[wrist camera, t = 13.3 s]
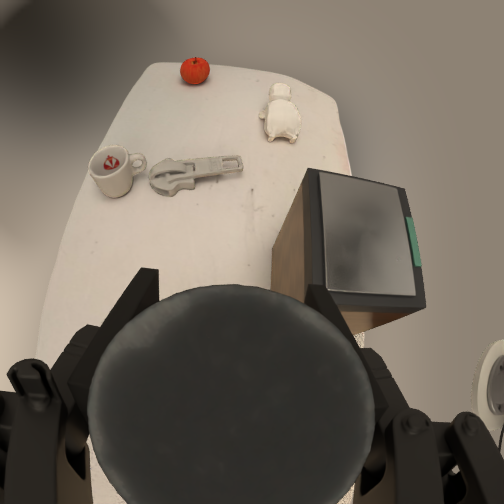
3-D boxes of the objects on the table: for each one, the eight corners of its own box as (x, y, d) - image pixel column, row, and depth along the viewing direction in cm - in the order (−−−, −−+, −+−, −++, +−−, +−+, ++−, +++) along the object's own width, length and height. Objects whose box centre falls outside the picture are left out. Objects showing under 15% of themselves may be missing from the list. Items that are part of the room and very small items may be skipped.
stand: (344, 338, 45) (412, 313, 28) (268, 335, 44) (303, 309, 26) (341, 255, 51) (395, 199, 34) (272, 248, 50) (301, 180, 33)
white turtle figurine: (295, 148, 64) (291, 97, 65) (306, 134, 56) (300, 79, 57) (259, 146, 63) (258, 94, 64) (266, 131, 55) (264, 75, 55)
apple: (186, 72, 69) (186, 50, 62) (213, 76, 70) (214, 53, 62) (176, 86, 66) (174, 62, 59) (204, 89, 66) (204, 65, 59)
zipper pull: (244, 187, 54) (246, 173, 50) (150, 199, 51) (146, 186, 47) (236, 157, 57) (238, 143, 53) (150, 168, 54) (146, 154, 50)
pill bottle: (168, 326, 15) (78, 223, 5) (282, 334, 15) (401, 251, 5) (162, 436, 12) (64, 536, 2) (278, 443, 13) (391, 543, 3)
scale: (412, 313, 28) (431, 305, 25) (303, 309, 26) (315, 300, 23) (395, 199, 34) (408, 185, 31) (301, 180, 33) (309, 162, 30)
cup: (146, 161, 54) (139, 134, 47) (154, 190, 52) (147, 163, 45) (98, 178, 51) (86, 153, 44) (102, 208, 49) (89, 184, 42)
